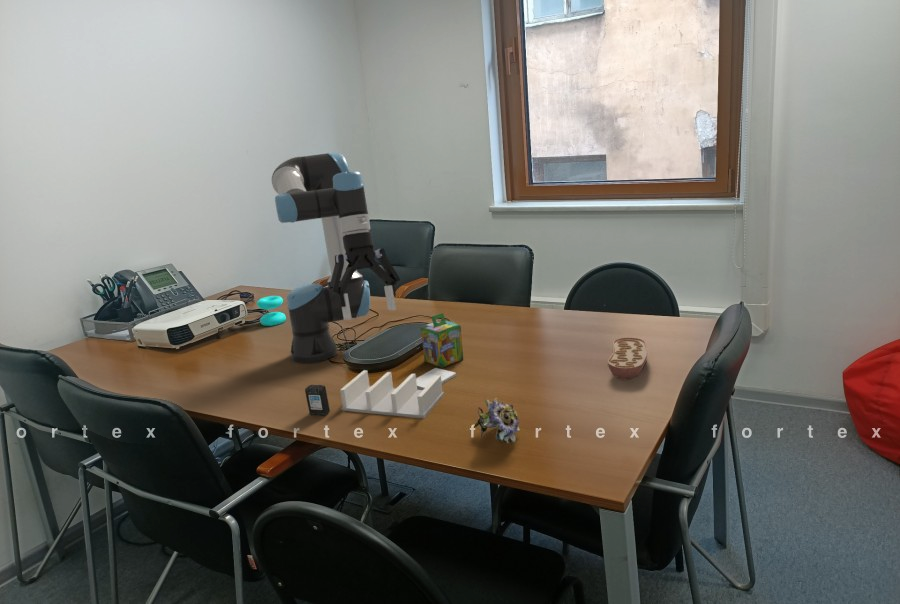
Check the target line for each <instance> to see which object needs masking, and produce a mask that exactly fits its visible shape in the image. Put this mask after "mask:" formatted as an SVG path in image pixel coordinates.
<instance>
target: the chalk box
mask: <svg viewBox="0 0 900 604" xmlns="http://www.w3.org/2000/svg"><path fill="white" fill-rule="evenodd" d="M439 318H440V319H439ZM438 319H439V320H438ZM431 320H432V322H430V323H426V324H424V325H421V326H420V333H421V341H422V342H421V343H422V349H423V350H422V351H423V358H424V359H423V360H424V362H425V363H428V364H431V365H433V366H437V367H438V368H440V369H441V368H445V367H447V366H450V365H452V364H454V363H457V362H460V361H463V360H464V349H463V339H462V327H461V326H462V325H461V324H458V323H455V322H453V321H451V320H450V321H449V320H446V319H445V315H444V313H443V312H441V313H440V312H439V313H438V314H435V315H432V316H431Z"/></svg>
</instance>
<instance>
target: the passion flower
mask: <svg viewBox="0 0 900 604" xmlns="http://www.w3.org/2000/svg"><path fill="white" fill-rule="evenodd" d="M484 402H485V405H486V407H487V410H488V411H487V412H485V413H484V410H483V408H482V407H481V406H478V407H477V414H478V415H479V418H478V419H477V422H475V423H474V426H473V428H477V426H480V438H482V436H483V434H484V433H486V432H487V429H488V428H489V429H493V428H495V429H497V432H496V434H495V439H496V440H497V442H503V443H504V444H506V445H508V444H509V442H510V443H512V444H514V443H516V432H519V431H520V430H521V429H520V427H519V424H520V420H519V419H518V413H517V411H516V410H515V408H514V405H513V404H510V405H509V404H507V403H505V404H504V402H503V401H502V402H498V398H497V397H494V398H493V401H492V402H493V403H492V402H490V400H489V399H485V401H484ZM479 410H480V411H479Z"/></svg>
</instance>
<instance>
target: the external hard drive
mask: <svg viewBox="0 0 900 604" xmlns="http://www.w3.org/2000/svg"><path fill="white" fill-rule="evenodd" d="M437 375H438V376H441V382H442V385H443V384H445V383H447V382H448V381H449V379H450V380H452V379H453V378H455V377H457V373H456V372H455V371H452V370H451V371H450V370H446V369H441V368H439V367H435V368H433V369H431V370H429V371H427V372H425V373H424V374H422V375H420V376H418V377H416V382H417V390H419V389H420V390H424V389H425V387H426V386H427V385H428V384H429V383H430V382H431V381H432V380H433V379H434V378H435V377H436V376H437ZM451 378H452V379H451ZM446 381H447V382H446ZM444 382H445V383H444Z"/></svg>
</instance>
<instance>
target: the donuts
mask: <svg viewBox="0 0 900 604" xmlns="http://www.w3.org/2000/svg"><path fill="white" fill-rule="evenodd" d="M283 303H284V298H282V297H281V296H280V295H270V296H265V297H261V298H259V299H258V301H257V302H256V306H257V307H258V308H259V309H261V310H265V311H266V310H273V309H277V308H279V307H280V306H282V304H283ZM286 316H287V315H286V314H285V313H283V312H280V311H272V312H267V313H265V314H263V315H262V316H261V317H260V319H259V322H260V324H261V325H262V326H265V327H271V326H272V327H273V326H277V325H281V324H283V323H284V322H286V319H287V317H286Z"/></svg>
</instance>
